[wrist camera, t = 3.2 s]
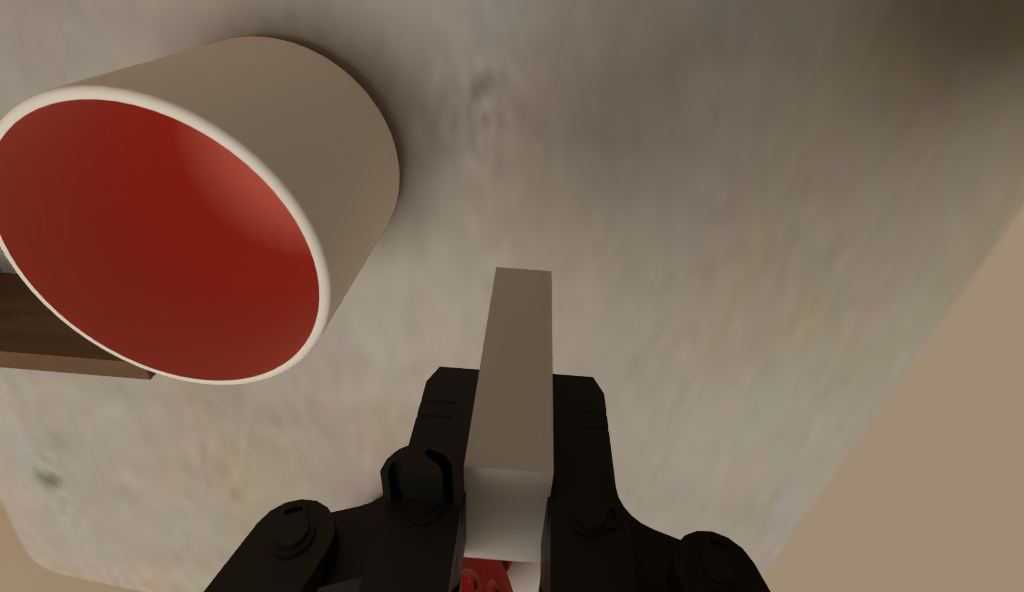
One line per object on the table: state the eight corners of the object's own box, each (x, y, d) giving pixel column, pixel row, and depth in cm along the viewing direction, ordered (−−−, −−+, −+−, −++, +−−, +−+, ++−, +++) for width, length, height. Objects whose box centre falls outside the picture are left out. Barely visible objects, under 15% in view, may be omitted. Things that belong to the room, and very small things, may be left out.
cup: (142, 51, 22) (-111, 115, 14) (369, 13, 20) (244, 58, 12) (243, 258, 27) (108, 395, 19) (429, 239, 26) (370, 377, 18)
